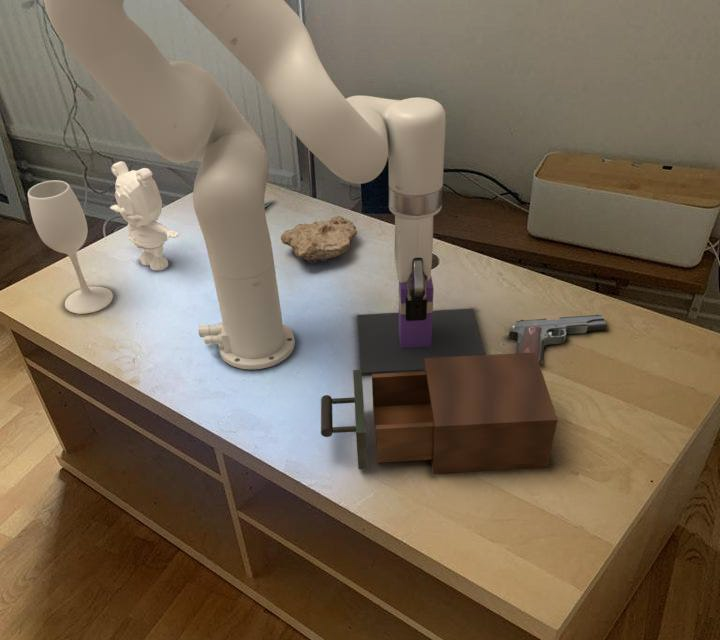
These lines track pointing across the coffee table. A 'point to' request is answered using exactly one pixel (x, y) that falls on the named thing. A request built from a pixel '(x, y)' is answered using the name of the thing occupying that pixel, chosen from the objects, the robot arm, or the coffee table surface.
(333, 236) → the rock
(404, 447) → the drawer
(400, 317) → the snack box
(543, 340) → the handgun
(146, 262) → the white cartoon figurine
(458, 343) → the mat
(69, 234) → the wineglass
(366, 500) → the coffee table surface
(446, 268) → the coffee table surface
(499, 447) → the cabinet
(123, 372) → the coffee table surface
